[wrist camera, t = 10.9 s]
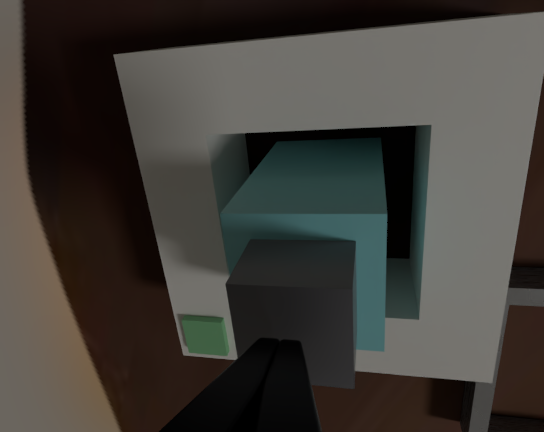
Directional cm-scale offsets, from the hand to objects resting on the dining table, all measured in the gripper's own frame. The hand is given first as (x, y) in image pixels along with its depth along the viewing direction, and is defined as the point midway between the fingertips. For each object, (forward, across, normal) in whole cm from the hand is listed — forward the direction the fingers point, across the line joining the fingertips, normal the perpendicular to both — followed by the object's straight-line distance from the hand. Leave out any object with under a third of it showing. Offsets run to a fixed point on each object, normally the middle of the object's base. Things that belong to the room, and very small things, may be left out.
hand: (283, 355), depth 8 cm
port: (+10, 0, 0) cm, 10 cm away
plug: (+10, 0, 0) cm, 10 cm away
